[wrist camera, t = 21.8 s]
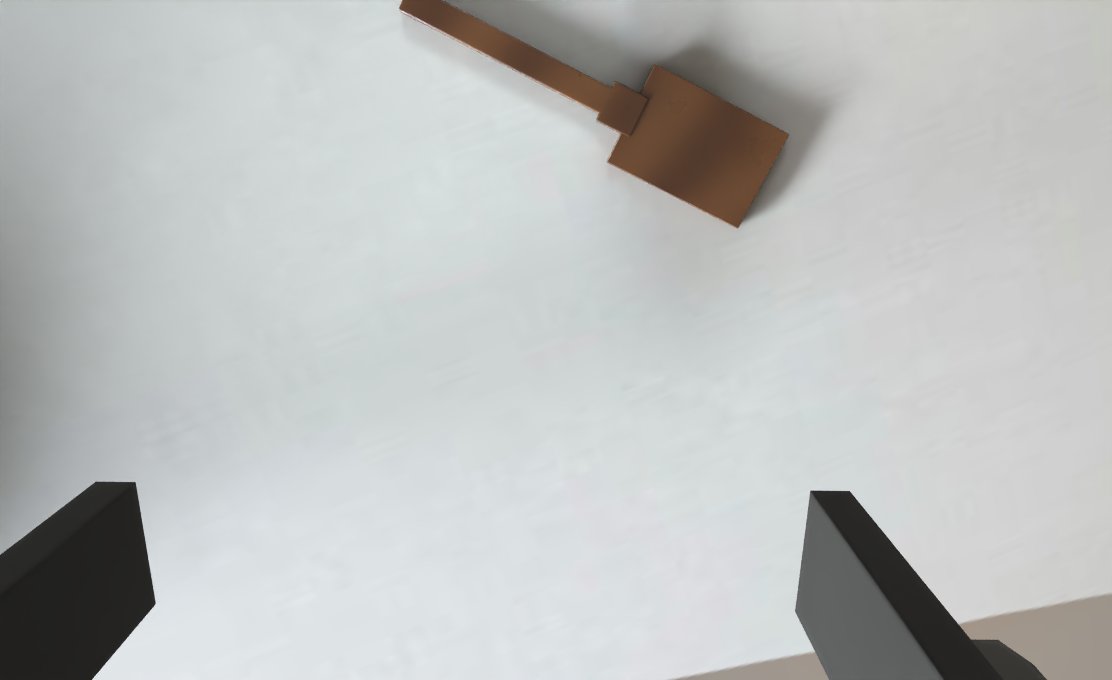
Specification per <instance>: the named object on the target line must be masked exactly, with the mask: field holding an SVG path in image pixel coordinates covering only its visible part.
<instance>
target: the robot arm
mask: <svg viewBox="0 0 1112 680" xmlns="http://www.w3.org/2000/svg"><path fill="white" fill-rule="evenodd" d="M155 604H156V603H155V597H154V591H153V585H152V579H151V573H150V567H149V561H148V555H147V548H146V542H145V536H144V530H143V524H142V518H141V512H140V506H139V500H138V494H137V488H136V482H95V483H94V484H92V485H91V486H90V487H88V488H87V489H86V490H85V491H83V492H82V493H81V494H79V495H78V496H77V497H75V498H74V499H73V500H71V501H70V502H69V503H68V504H66V505H65V506H64V507H62V508H61V509H60V510H58V511H57V512H56V513H54V514H53V515H52V516H51V517H49V518H48V519H47V520H45V521H44V522H43V523H41V524H40V525H39V526H37V527H36V528H35V529H34V530H32V531H31V532H30V533H28V534H27V535H26V536H24V537H23V538H22V539H21V540H19V541H18V542H17V543H15V544H14V545H13V546H11V547H10V548H9V549H7V550H6V551H5V552H4V553H2V554H1V555H0V680H92V679H93V678H94V676H95V675H96V674H97V673H98V672H99V671H100V669H101V668H102V667H103V666H104V665H105V663H106V662H107V661H108V660H109V659H110V658H111V656H112V655H113V654H114V653H115V652H116V650H117V649H118V648H119V647H120V646H121V644H122V643H123V642H124V641H125V640H126V639H127V637H128V636H129V635H130V634H131V633H132V631H133V630H134V629H135V628H136V627H137V625H138V624H139V623H140V622H141V621H142V620H143V618H144V617H145V616H146V615H147V614H148V612H149V611H150V610H151V609H152V608H153V607H154V605H155ZM795 612H796V614H797V616H798V618H799V620H800V622H801V624H802V626H803V628H804V630H805V632H806V634H807V636H808V638H809V640H810V642H811V644H812V646H813V648H814V650H815V652H816V654H817V656H818V658H819V660H820V662H821V664H822V666H823V668H824V670H825V672H826V674H827V676H828V678H829V680H1047V679H1046V678H1045V677H1044V676H1043V675H1042V674H1041V673H1040V672H1039V670H1038V669H1037V668H1036V667H1035V666H1034V665H1033V664H1032V663H1031V662H1029V661H1028V660H1026V659H1025V658H1023V657H1022V656H1020V655H1019V654H1017V653H1016V652H1014V651H1013V650H1011V649H1010V648H1009V647H1007V646H1006V645H1005V644H1003V643H1002V642H1000V641H999V640H971V639H970V638H969V637H968V636H967V634H966V633H965V632H964V631H963V630H962V628H961V627H960V626H959V625H958V623H957V622H956V621H955V620H954V619H953V617H952V616H951V615H950V614H949V612H948V611H947V610H946V609H945V608H944V606H943V605H942V604H941V603H940V601H939V600H938V599H937V598H936V596H935V595H934V594H933V593H932V592H931V590H930V589H929V588H928V587H927V585H926V584H925V583H924V582H923V581H922V579H921V578H920V577H919V576H918V574H917V573H916V572H915V571H914V569H913V568H912V567H911V566H910V565H909V563H908V562H907V561H906V560H905V558H904V557H903V556H902V555H901V554H900V552H899V551H898V550H897V549H896V547H895V546H894V545H893V544H892V542H891V541H890V540H889V539H888V538H887V536H886V535H885V534H884V533H883V531H882V530H881V529H880V528H879V527H878V525H877V524H876V523H875V522H874V520H873V519H872V518H871V517H870V515H869V514H868V513H867V512H866V511H865V509H864V508H863V507H862V506H861V504H860V503H859V502H858V501H857V500H856V498H855V497H854V496H853V495H852V493H851V492H850V491H810V499H809V507H808V514H807V522H806V530H805V538H804V546H803V554H802V562H801V570H800V578H799V586H798V594H797V601H796V609H795Z"/></svg>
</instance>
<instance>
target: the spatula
mask: <svg viewBox="0 0 1112 680" xmlns="http://www.w3.org/2000/svg"><path fill="white" fill-rule="evenodd" d="M399 10H400V11H401V12H402V13H403V14H405V15H407V16H409V17H411V18H413V19H415V20H417V21H419V22H421V23H423V24H425V25H427V26H429V27H430V28H432V29H434V30H436V31H438V32H440V33H442V34H444V35H446V36H448V37H450V38H452V39H454V40H456V41H458V42H460V43H462V44H464V45H466V46H467V47H469V48H471V49H473V50H475V51H477V52H479V53H481V54H483V55H485V56H487V57H489V58H491V59H493V60H495V61H497V62H499V63H501V64H503V65H504V66H506V67H508V68H510V69H512V70H514V71H516V72H518V73H520V74H522V75H524V76H526V77H528V78H530V79H532V80H534V81H536V82H538V83H540V84H542V85H543V86H545V87H547V88H549V89H551V90H553V91H555V92H557V93H559V94H561V95H563V96H565V97H567V98H569V99H571V100H573V101H575V102H577V103H579V104H580V105H582V106H584V107H586V108H588V109H590V110H592V111H594V112H596V113H598V114H599V115H598V117H597V119H596V121H597V122H599V123H600V124H602V125H604V126H606V127H608V128H610V129H612V130H614V131H616V132H618V133H620V136H619V138H618V140H617V142H616V144H615V146H614V148H613V150H612V152H611V154H610V156H609V158H608V160H607V163H609V164H611V165H613V166H615V167H617V168H619V169H621V170H623V171H625V172H627V173H629V174H631V175H633V176H635V177H637V178H639V179H641V180H643V181H645V182H647V183H649V184H651V185H653V186H655V187H656V188H658V189H660V190H662V191H664V192H666V193H668V194H670V195H672V196H674V197H676V198H678V199H680V200H682V201H684V202H686V203H688V204H690V205H692V206H694V207H696V208H698V209H700V210H702V211H704V212H706V213H708V214H710V215H712V216H714V217H716V218H718V219H720V220H722V221H724V222H726V223H728V224H729V225H731V226H733V227H736V228H738V227H739V226H740V224H741V222H742V220H743V218H744V216H745V215H746V213H747V211H748V209H749V207H750V205H751V204H752V202H753V200H754V198H755V196H756V194H757V193H758V191H759V189H760V187H761V185H762V183H763V182H764V180H765V178H766V176H767V174H768V173H769V171H770V169H771V167H772V165H773V163H774V162H775V160H776V158H777V156H778V154H779V152H780V151H781V149H782V147H783V145H784V143H785V141H786V140H787V138H788V136H789V134H788V133H786V132H784V131H782V130H780V129H778V128H777V127H775V126H773V125H771V124H769V123H767V122H765V121H763V120H761V119H759V118H758V117H756V116H754V115H752V114H750V113H748V112H746V111H744V110H742V109H740V108H738V107H737V106H735V105H733V104H731V103H729V102H727V101H725V100H723V99H721V98H719V97H717V96H716V95H714V94H712V93H710V92H708V91H706V90H704V89H702V88H700V87H698V86H697V85H695V84H693V83H691V82H689V81H687V80H685V79H683V78H681V77H679V76H677V75H676V74H674V73H672V72H670V71H668V70H666V69H664V68H662V67H660V66H658V65H657V64H655V65H654V66H653V68H652V70H651V73H650V75H649V77H648V79H647V81H646V83H645V85H644V87H643V89H642V91H641V93H638V92H636V91H634V90H632V89H630V88H628V87H626V86H624V85H623V84H621V83H619V82H617V81H615V82H614V84H613V86H612V88H611V87H609V86H607V85H605V84H603V83H601V82H599V81H597V80H595V79H593V78H592V77H590V76H588V75H586V74H584V73H582V72H580V71H578V70H576V69H574V68H572V67H570V66H568V65H566V64H565V63H563V62H561V61H559V60H557V59H555V58H553V57H551V56H549V55H547V54H545V53H543V52H541V51H539V50H537V49H536V48H534V47H532V46H530V45H528V44H526V43H524V42H522V41H520V40H518V39H516V38H514V37H512V36H510V35H509V34H507V33H505V32H503V31H501V30H499V29H497V28H495V27H493V26H491V25H489V24H487V23H485V22H483V21H481V20H480V19H478V18H476V17H474V16H472V15H470V14H468V13H466V12H464V11H462V10H460V9H458V8H456V7H454V6H453V5H451V4H449V3H447V2H445V1H443V0H402V2H401V5H400V7H399Z"/></svg>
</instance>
